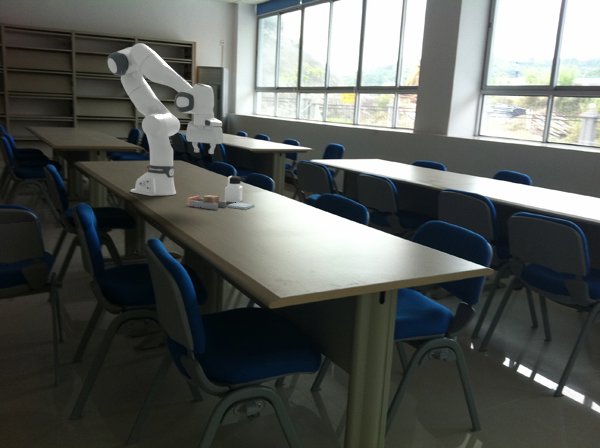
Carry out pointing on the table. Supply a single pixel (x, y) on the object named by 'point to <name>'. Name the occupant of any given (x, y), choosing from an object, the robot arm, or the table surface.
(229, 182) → the medicine bottle
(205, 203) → the channel
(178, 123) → the robot arm
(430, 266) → the table surface
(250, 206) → the tile
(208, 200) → the block
